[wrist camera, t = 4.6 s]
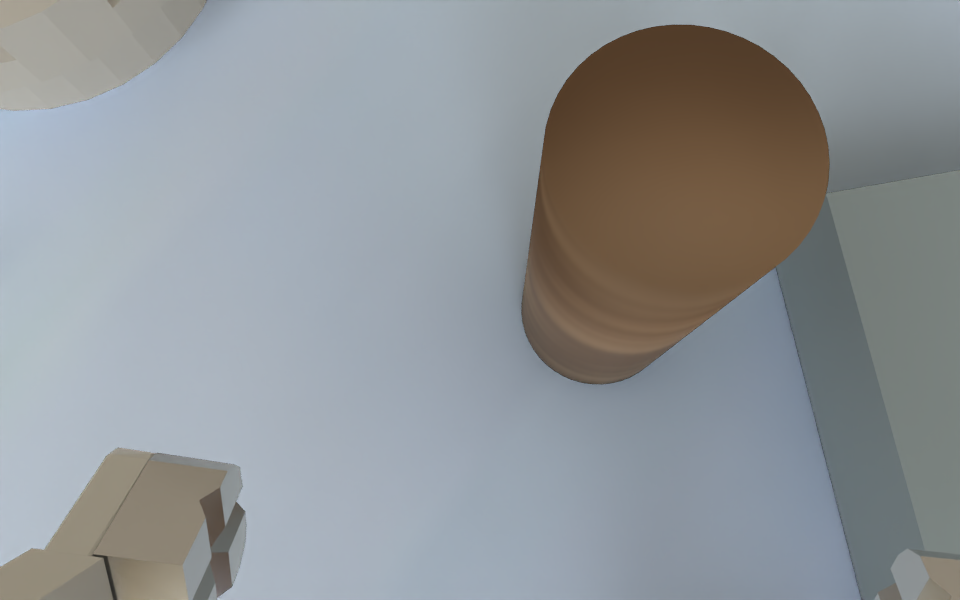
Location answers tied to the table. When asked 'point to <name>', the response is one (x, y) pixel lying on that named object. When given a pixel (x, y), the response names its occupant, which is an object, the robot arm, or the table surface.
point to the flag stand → (82, 46)
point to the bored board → (884, 363)
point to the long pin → (664, 195)
